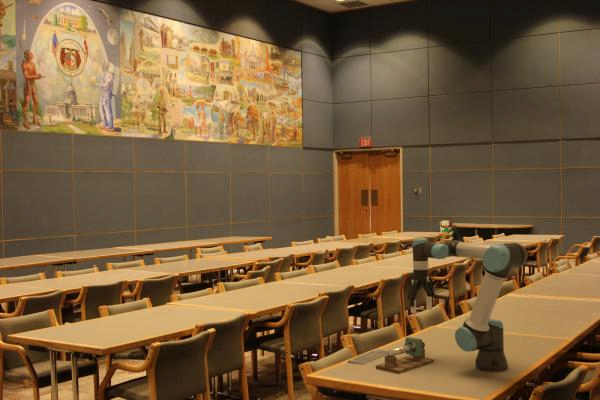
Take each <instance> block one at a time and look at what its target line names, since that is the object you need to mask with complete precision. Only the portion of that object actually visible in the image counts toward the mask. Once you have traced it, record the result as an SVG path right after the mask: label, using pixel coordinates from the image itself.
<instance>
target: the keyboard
mask: <svg viewBox="0 0 600 400" xmlns="http://www.w3.org/2000/svg"><path fill="white" fill-rule="evenodd" d="M387 351H388V350H386V349H382V348H381V349H380V348H374V349H371V350H369V351H366V352H364V353H362V354H359V355H357V356H355V357H353V358H350V359H347V363H348V364H355V365H360V366H361V365H362V366H366V365H368V364H370V363H373V362H375V361H377V360H380V359H381V358H385V356H387Z"/></svg>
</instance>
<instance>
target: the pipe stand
mask: <svg viewBox="0 0 600 400" xmlns="http://www.w3.org/2000/svg"><path fill="white" fill-rule="evenodd" d="M433 363H435V358H429V357H426V348H425V347H424V348H422V356H414V355H409V354H408V355H407V356H403V357H399V358H398V357H397V356H396V355H395V356H392V357H388V356H387V355H386V356H384V362H383V363H380V364H376V365H375V369H376V370H381V371H383V372H384V371H385V372H389V373H393V374H396V375H398V374H402V373H405V372H408V371H412V370H415V369H418V368H421V367H424V366H428V365H430V364H433Z"/></svg>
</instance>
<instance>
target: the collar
mask: <svg viewBox="0 0 600 400" xmlns="http://www.w3.org/2000/svg"><path fill="white" fill-rule="evenodd" d="M405 342H406V345H409V344H412V343H415V346H416V350H413V351H409V352H406V353H405V354H406V355H408V356H409V355H414V356H422V342H423V339H422V338H416V337H412V336H408V337H405Z"/></svg>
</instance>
